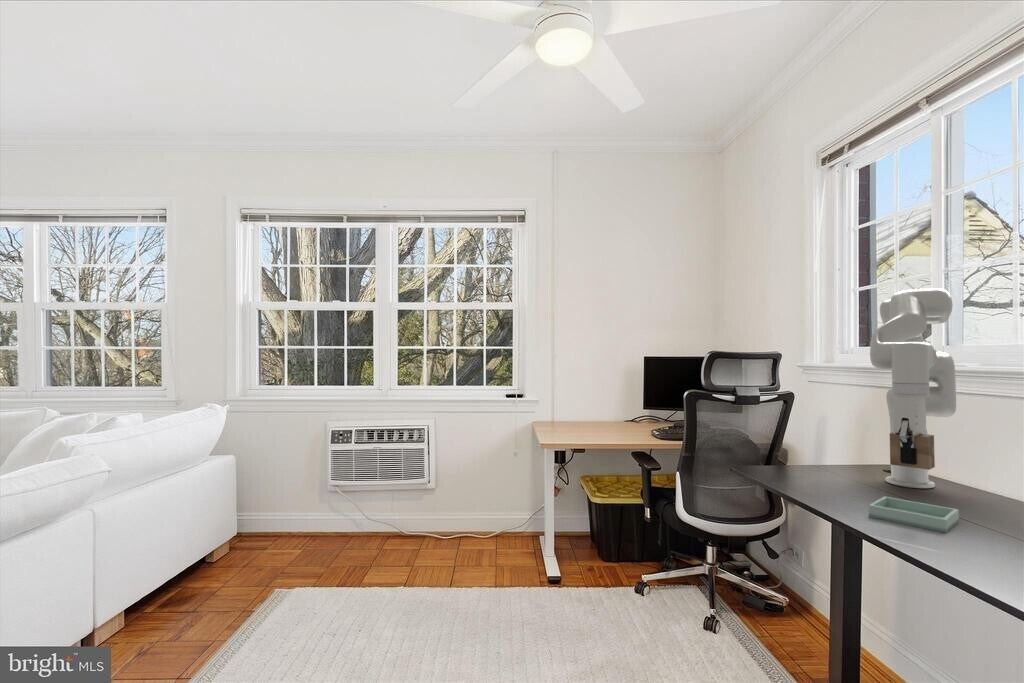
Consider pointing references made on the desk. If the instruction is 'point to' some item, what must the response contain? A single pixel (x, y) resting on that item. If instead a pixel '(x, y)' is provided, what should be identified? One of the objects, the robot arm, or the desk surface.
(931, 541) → the desk surface
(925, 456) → the walnut block
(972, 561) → the desk surface
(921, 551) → the desk surface
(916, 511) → the tray
